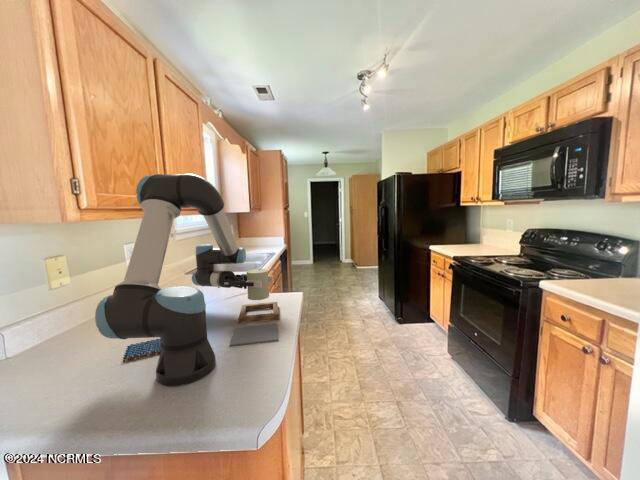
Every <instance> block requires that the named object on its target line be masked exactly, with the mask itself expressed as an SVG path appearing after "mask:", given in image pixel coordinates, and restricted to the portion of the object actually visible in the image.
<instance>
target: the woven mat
mask: <svg viewBox="0 0 640 480" xmlns="http://www.w3.org/2000/svg"><path fill="white" fill-rule="evenodd" d="M158 353H159V354H160V353H161V340H160V338H155V339H151V340H146V341H142V342H136V343H131V344H129V345H127V346H126V349H125V352H124V355H123V357H122V359H123V360H122V362H123V363H127V362H129V361H131V362H133V360H134V361H136V360H138V359H139V360H140V359H146V358H149V357H151V356H152V357H153V356H154V355H155V356H158ZM142 357H143V358H142Z"/></svg>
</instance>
